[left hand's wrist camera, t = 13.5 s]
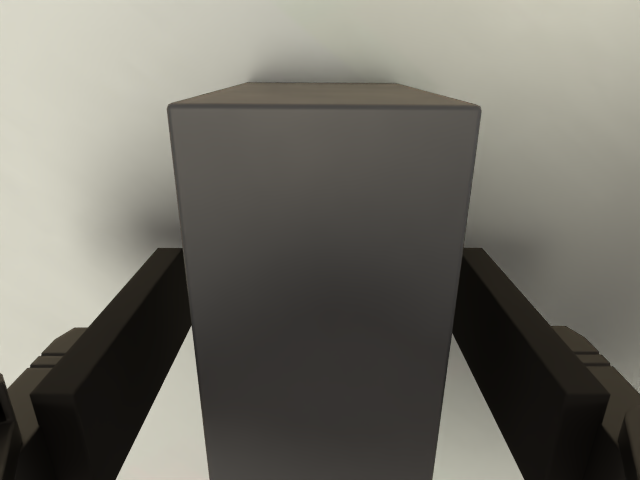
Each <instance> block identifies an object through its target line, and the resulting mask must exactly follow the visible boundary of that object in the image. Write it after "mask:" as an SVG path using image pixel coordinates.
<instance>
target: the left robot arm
mask: <svg viewBox="0 0 640 480" xmlns="http://www.w3.org/2000/svg"><path fill="white" fill-rule="evenodd" d="M191 325H192V323H191V314H190V305H189V297H188V289H187V280H186V272H185V264H184V256H183V248H158V249H157V250H156V251H155V252H154V253H153V254H152V255H151V257H150V258H149V259H148V260H147V261H146V262H145V263H144V265H143V266H142V267H141V268H140V269H139V270H138V271H137V273H136V274H135V275H134V276H133V277H132V278H131V279H130V281H129V282H128V283H127V284H126V285H125V286H124V287H123V288H122V290H121V291H120V292H119V293H118V294H117V295H116V296H115V298H114V299H113V300H112V301H111V302H110V303H109V304H108V306H107V307H106V308H105V309H104V310H103V311H102V312H101V314H100V315H99V316H98V317H97V318H96V319H95V320H94V321H93V323H92V324H91V325H90V326H89V327H88V328H73V329H71V330H70V331H68V332H66V333H65V334H63V335H62V336H60V337H58V338H57V339H55V340H54V341H53V342H52V343H51V344H50V345H49V346H48V347H47V348H46V349H45V350H44V351H43V352H42V353H41V354H42V355H41V356H39V357H38V358H37V359H36V360H35V361H34V362H33V363H32V364H31V365H30V368H27V369H26V370H25V371H24V372H23V373H22V374H21V375H20V376H19V377H18V378H17V379H16V380H15V381H14V383H13V384H12V385H11V386H10V387H9V388H8V389H7V388H6V385H5V381H4V378H3V375H2V374H1V373H0V480H116V478H117V476H118V474H119V472H120V470H121V467H122V465H123V463H124V461H125V459H126V457H127V455H128V453H129V451H130V449H131V447H132V445H133V443H134V441H135V439H136V437H137V435H138V433H139V431H140V429H141V427H142V425H143V423H144V421H145V419H146V417H147V415H148V413H149V411H150V408H151V406H152V404H153V402H154V400H155V398H156V396H157V394H158V392H159V390H160V388H161V386H162V384H163V382H164V380H165V378H166V376H167V374H168V372H169V370H170V368H171V366H172V364H173V362H174V360H175V358H176V356H177V354H178V352H179V350H180V347H181V345H182V343H183V341H184V339H185V337H186V335H187V333H188V331H189V329H190V327H191ZM452 333H453V335H454V337H455V339H456V341H457V343H458V345H459V348H460V350H461V352H462V354H463V356H464V358H465V360H466V362H467V364H468V366H469V368H470V370H471V372H472V374H473V376H474V378H475V380H476V382H477V384H478V386H479V388H480V390H481V392H482V394H483V396H484V398H485V400H486V402H487V404H488V406H489V409H490V411H491V413H492V415H493V417H494V419H495V421H496V423H497V425H498V427H499V429H500V431H501V433H502V435H503V437H504V439H505V441H506V443H507V445H508V447H509V449H510V451H511V453H512V455H513V457H514V459H515V461H516V463H517V465H518V467H519V470H520V472H521V474H522V476H523V478H524V480H640V394H639V393H638V392H637V391H636V390H635V389H634V388H633V387H632V386H631V384H630V383H629V382H628V381H627V380H626V379H625V378H624V377H623V376H622V375H621V374H620V373H619V372H618V371H617V370H616V369H615V368H614V367H613V366H610V363H609V362H608V361H607V360H606V359H605V358H604V357H603V356H602V355H599V351H598V350H597V349H596V348H595V347H594V346H593V345H592V344H591V343H590V342H589V341H588V340H587V339H586V338H585V337H583V336H581V335H580V334H578V333H576V332H575V331H573V330H571V329H570V328H568V327H566V326H550V325H549V324H548V323H547V321H546V320H545V319H544V318H543V317H542V316H541V315H540V314H539V312H538V311H537V310H536V309H535V308H534V307H533V306H532V304H531V303H530V302H529V301H528V300H527V299H526V298H525V296H524V295H523V294H522V293H521V292H520V291H519V290H518V288H517V287H516V286H515V285H514V284H513V283H512V282H511V281H510V279H509V278H508V277H507V276H506V275H505V274H504V273H503V271H502V270H501V269H500V268H499V267H498V266H497V265H496V263H495V262H494V261H493V260H492V259H491V258H490V257H489V256H488V254H487V253H486V252H485V251H484V250H483V249H482V248H463V254H462V261H461V269H460V276H459V284H458V291H457V299H456V306H455V313H454V321H453V328H452Z"/></svg>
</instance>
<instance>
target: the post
mask: <svg viewBox="0 0 640 480" xmlns="http://www.w3.org/2000/svg"><path fill="white" fill-rule="evenodd" d="M167 114H168V123H169V132H170V140H171V149H172V158H173V166H174V175H175V184H176V192H177V201H178V210H179V218H180V227H181V236H182V244H183V253H184V262H185V271H186V279H187V288H188V297H189V305H190V314H191V323H192V331H193V340H194V349H195V357H196V366H197V375H198V383H199V392H200V401H201V409H202V418H203V427H204V435H205V444H206V453H207V461H208V470H209V479H210V480H432V478H433V471H434V463H435V456H436V448H437V441H438V433H439V426H440V418H441V411H442V403H443V396H444V388H445V381H446V373H447V366H448V358H449V351H450V343H451V336H452V328H453V321H454V313H455V306H456V299H457V291H458V284H459V276H460V269H461V261H462V254H463V246H464V239H465V231H466V224H467V216H468V209H469V201H470V194H471V186H472V179H473V171H474V164H475V156H476V149H477V141H478V134H479V126H480V119H481V107H480V106H478V105H476V104H472V103H468V102H464V101H461V100H457V99H453V98H449V97H446V96H442V95H438V94H434V93H430V92H427V91H423V90H419V89H415V88H412V87H408V86H404V85H400V84H397V83H252V82H247V83H244V84H240V85H236V86H233V87H229V88H225V89H222V90H218V91H214V92H210V93H207V94H203V95H199V96H196V97H192V98H188V99H185V100H181V101H177V102H174V103H171V104H169V105H168V107H167Z"/></svg>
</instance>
